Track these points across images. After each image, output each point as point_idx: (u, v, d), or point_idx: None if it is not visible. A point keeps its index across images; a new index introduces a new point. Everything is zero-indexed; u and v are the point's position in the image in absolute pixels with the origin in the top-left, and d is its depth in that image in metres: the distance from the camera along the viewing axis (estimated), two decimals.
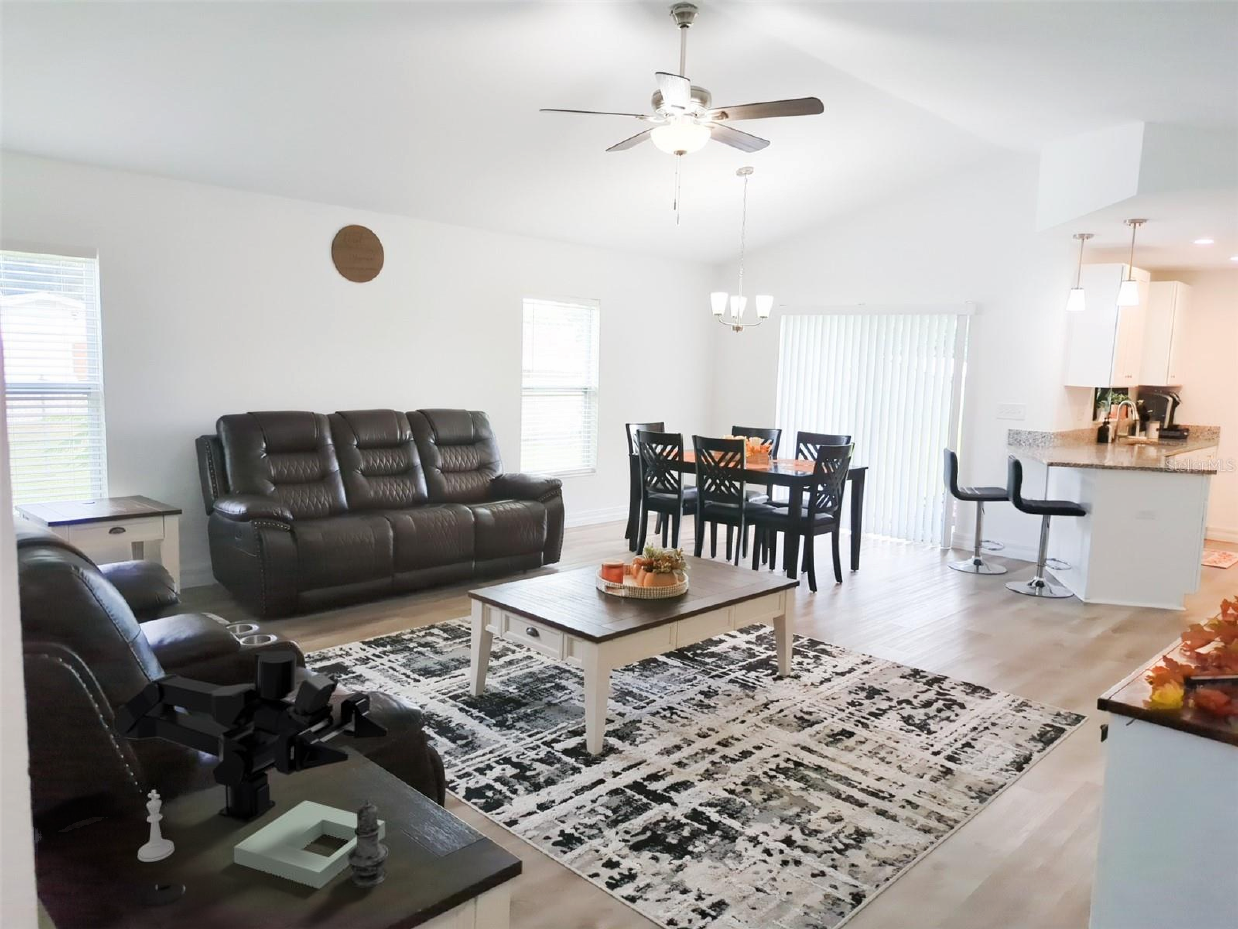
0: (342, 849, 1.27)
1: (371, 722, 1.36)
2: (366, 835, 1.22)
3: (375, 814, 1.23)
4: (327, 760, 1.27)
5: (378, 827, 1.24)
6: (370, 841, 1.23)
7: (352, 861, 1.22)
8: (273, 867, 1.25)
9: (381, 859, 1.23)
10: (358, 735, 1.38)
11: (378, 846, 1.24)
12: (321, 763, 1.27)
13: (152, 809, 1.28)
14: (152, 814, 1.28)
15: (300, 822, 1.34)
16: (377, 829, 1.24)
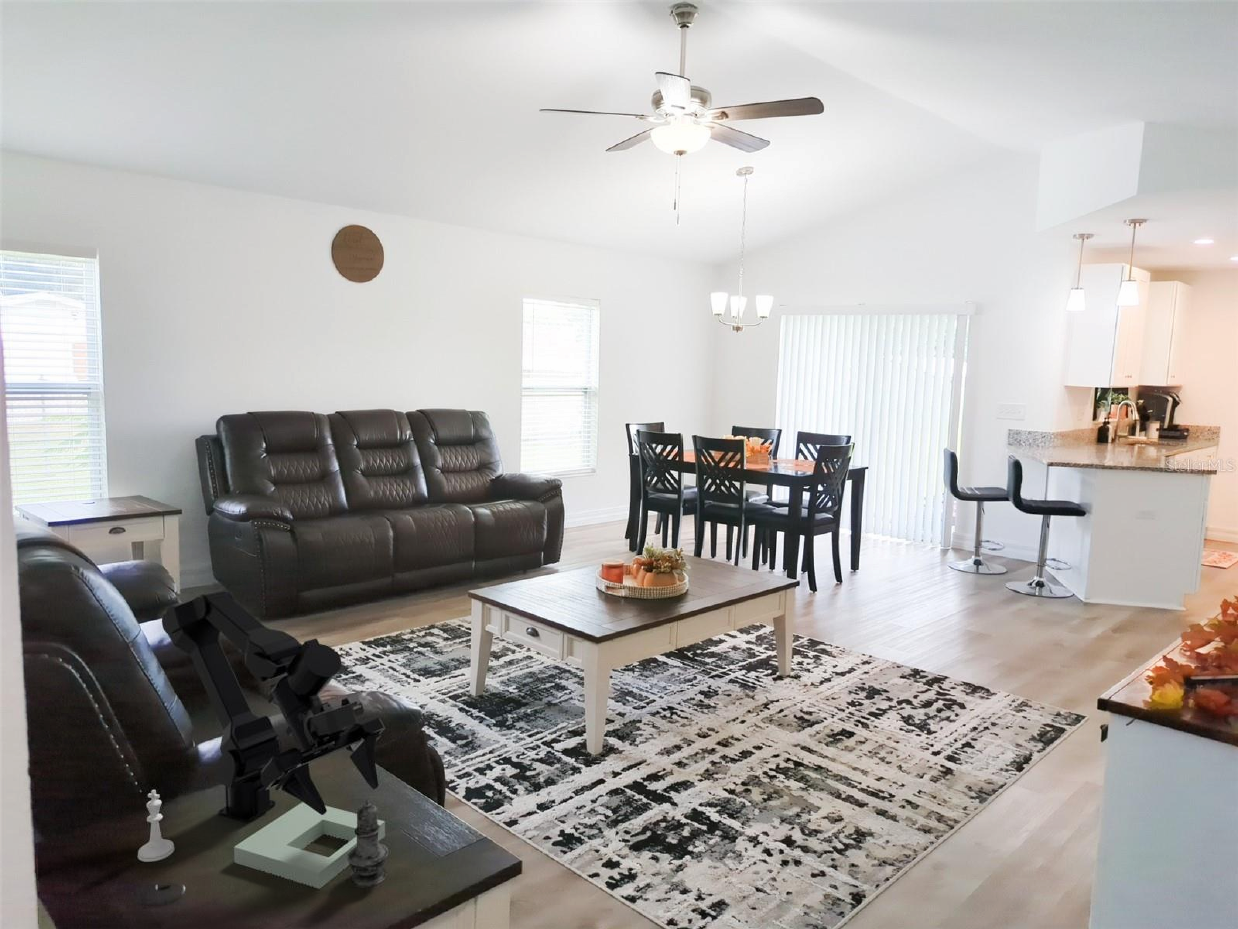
0: (342, 849, 1.27)
1: (369, 767, 1.30)
2: (366, 835, 1.22)
3: (375, 814, 1.23)
4: (306, 801, 1.22)
5: (378, 827, 1.24)
6: (370, 841, 1.23)
7: (352, 861, 1.22)
8: (273, 867, 1.25)
9: (381, 859, 1.23)
10: (354, 760, 1.33)
11: (378, 846, 1.24)
12: (301, 799, 1.23)
13: (152, 809, 1.28)
14: (152, 814, 1.28)
15: (300, 822, 1.34)
16: (377, 829, 1.24)
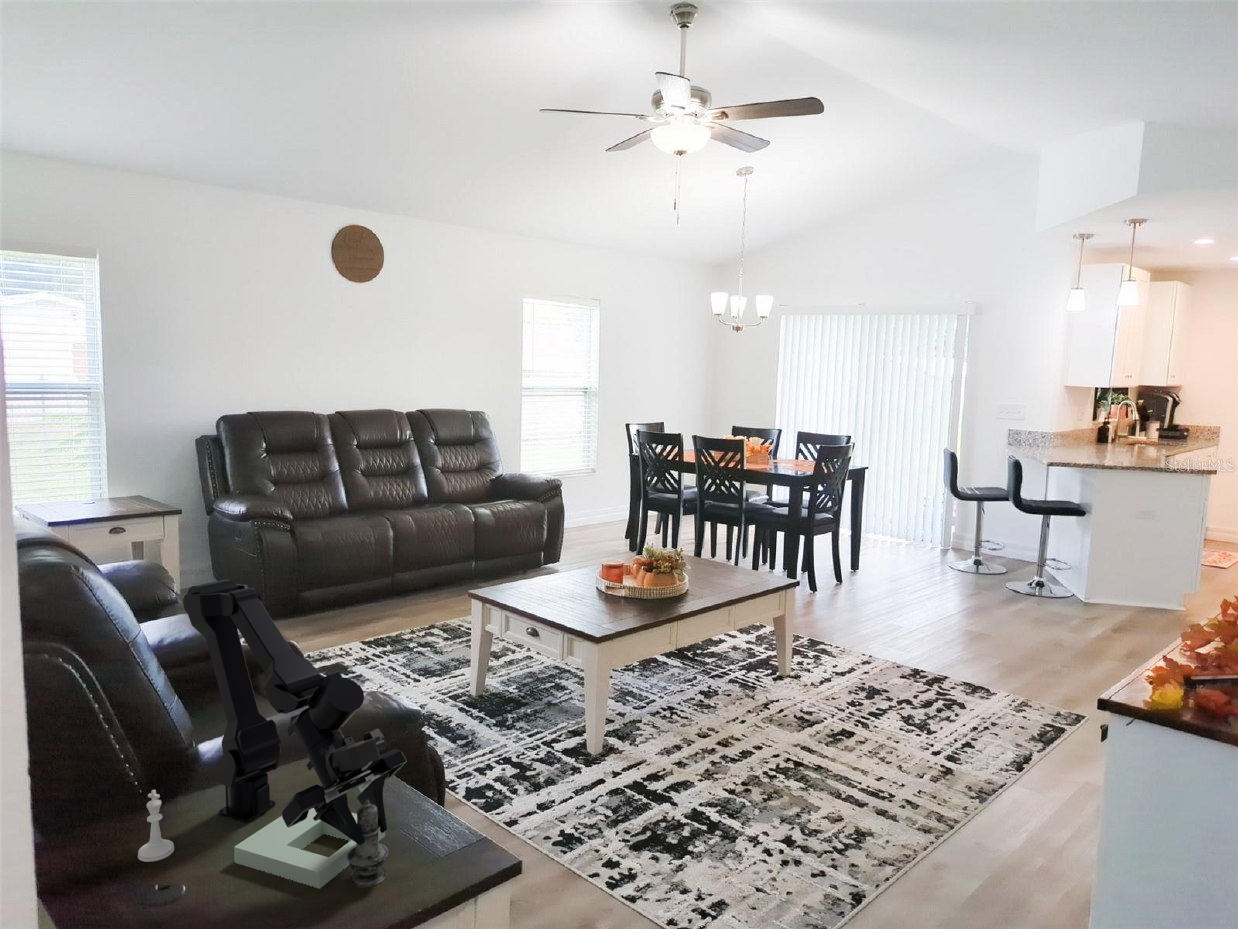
0: (342, 849, 1.27)
1: (377, 809, 1.26)
2: (366, 835, 1.22)
3: (375, 814, 1.23)
4: (344, 831, 1.22)
5: (378, 827, 1.24)
6: (370, 840, 1.23)
7: (352, 861, 1.22)
8: (273, 867, 1.25)
9: (381, 859, 1.23)
10: (361, 801, 1.28)
11: (378, 846, 1.24)
12: (339, 828, 1.23)
13: (152, 809, 1.28)
14: (152, 814, 1.28)
15: (300, 822, 1.34)
16: (377, 829, 1.24)
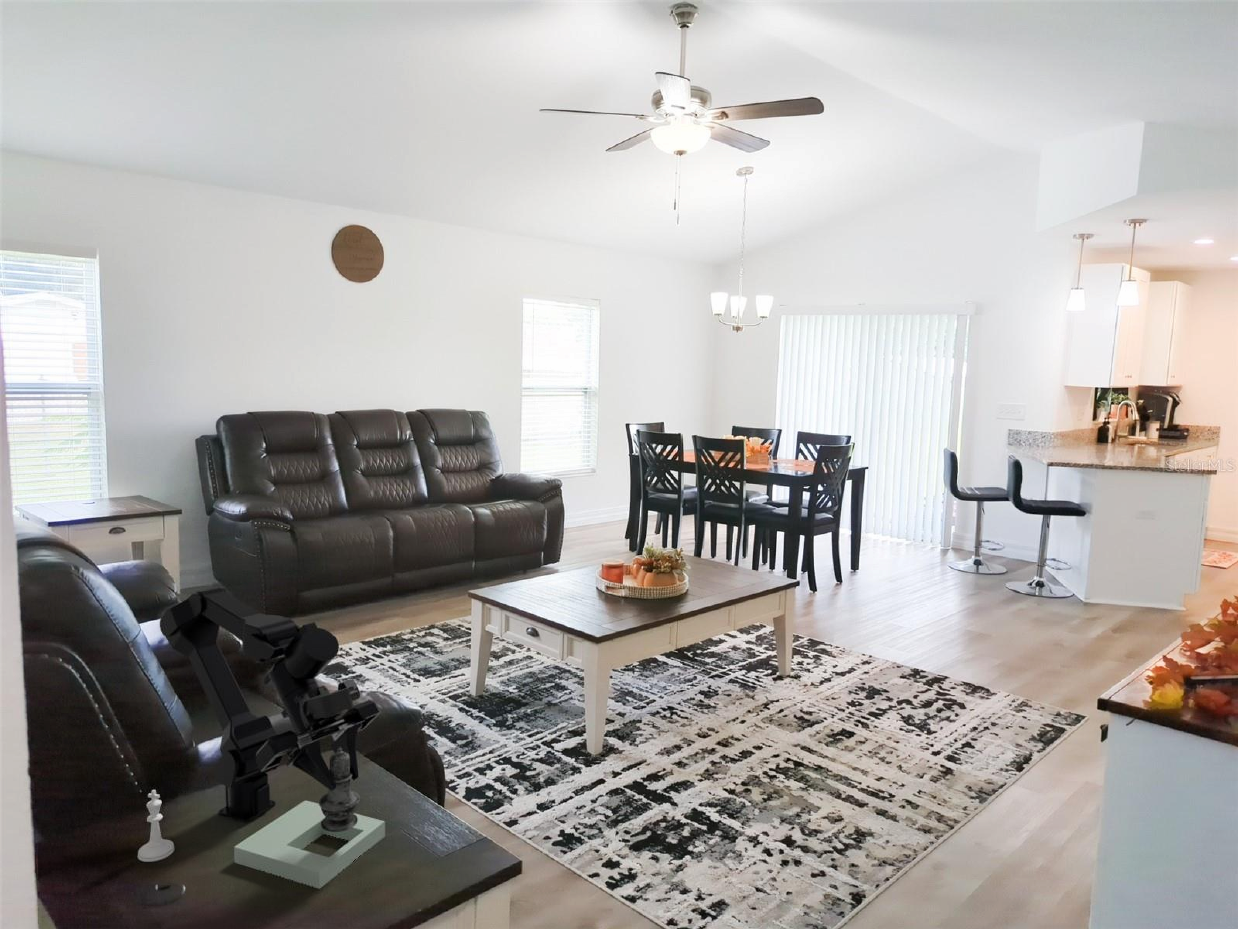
0: (342, 849, 1.27)
1: (350, 757, 1.28)
2: (338, 781, 1.25)
3: (347, 761, 1.26)
4: (316, 777, 1.25)
5: (350, 774, 1.27)
6: (342, 787, 1.26)
7: (323, 806, 1.25)
8: (273, 867, 1.25)
9: (352, 805, 1.26)
10: (334, 749, 1.31)
11: (350, 792, 1.27)
12: (311, 774, 1.25)
13: (152, 809, 1.28)
14: (152, 814, 1.28)
15: (300, 822, 1.34)
16: (349, 776, 1.27)
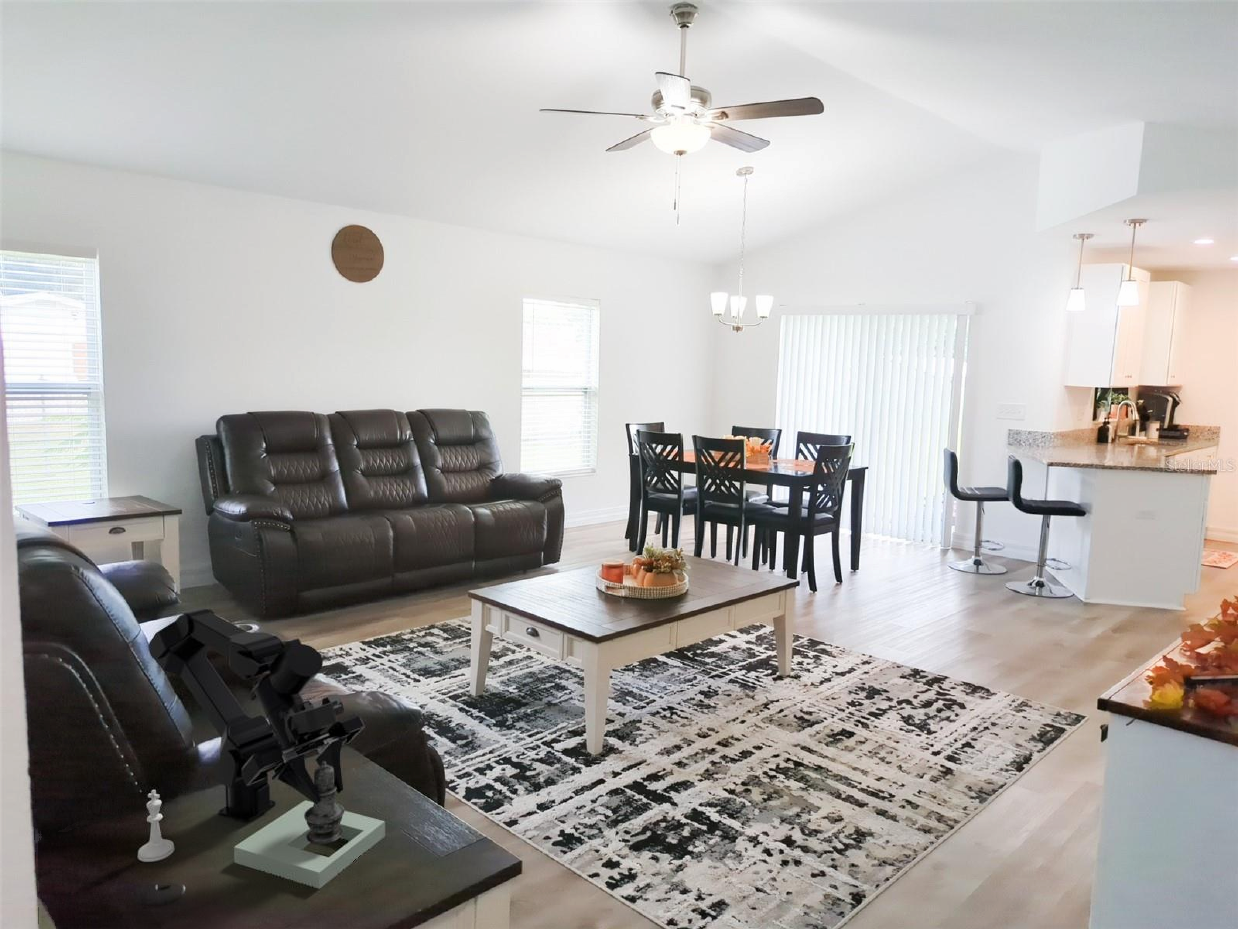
0: (342, 849, 1.27)
1: (334, 770, 1.31)
2: (322, 794, 1.28)
3: (331, 774, 1.29)
4: (301, 790, 1.28)
5: (334, 787, 1.30)
6: (326, 800, 1.28)
7: (308, 819, 1.28)
8: (273, 867, 1.25)
9: (337, 817, 1.29)
10: (320, 763, 1.34)
11: (334, 805, 1.30)
12: (296, 788, 1.28)
13: (152, 809, 1.28)
14: (152, 814, 1.28)
15: (300, 822, 1.34)
16: (333, 789, 1.29)
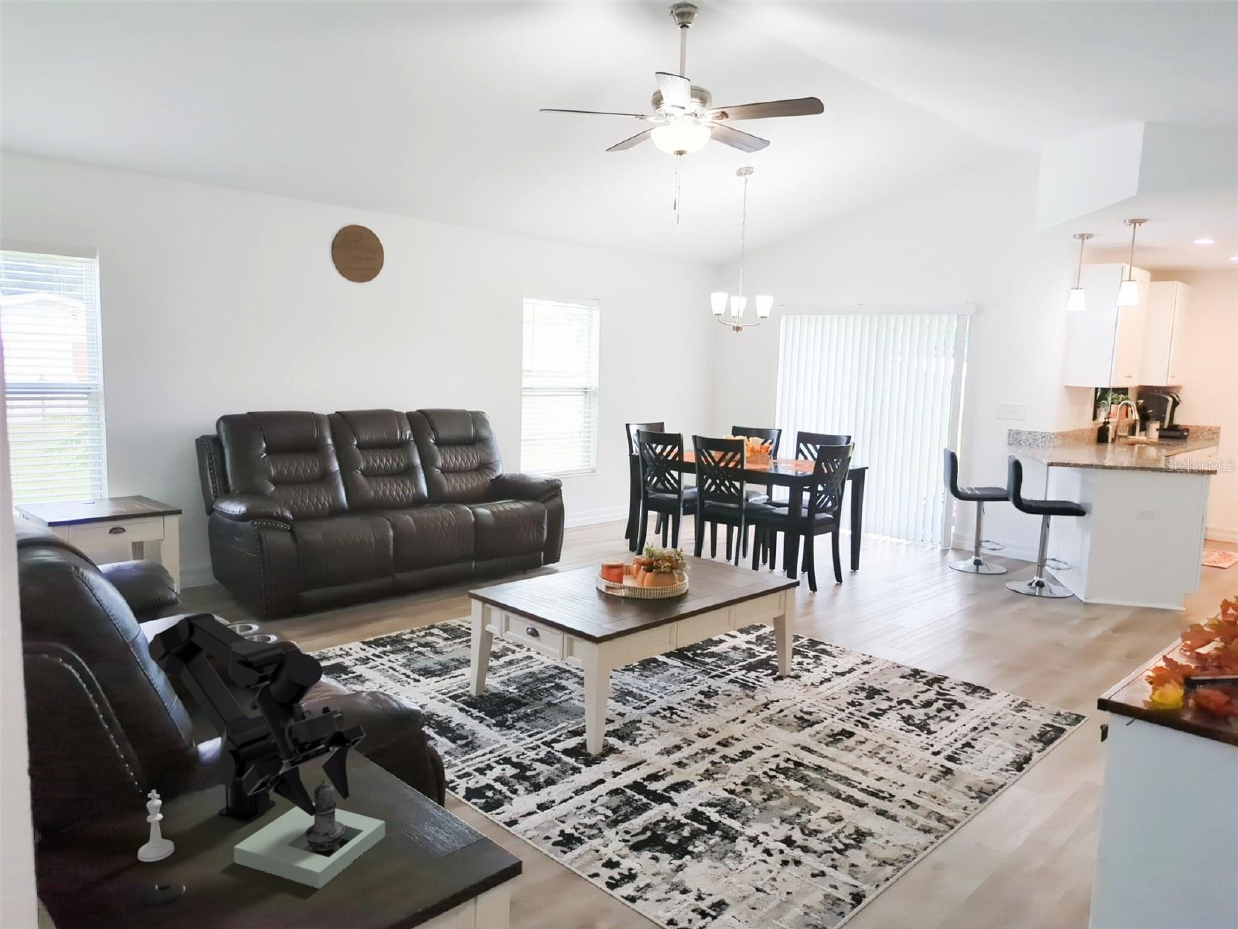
0: (342, 849, 1.27)
1: (340, 777, 1.32)
2: (323, 812, 1.28)
3: (332, 793, 1.29)
4: (296, 803, 1.27)
5: (335, 805, 1.30)
6: (327, 818, 1.29)
7: (309, 837, 1.28)
8: (273, 867, 1.25)
9: (337, 835, 1.29)
10: (326, 770, 1.34)
11: (335, 823, 1.30)
12: (291, 800, 1.27)
13: (152, 809, 1.28)
14: (152, 814, 1.28)
15: (300, 822, 1.34)
16: (334, 807, 1.30)
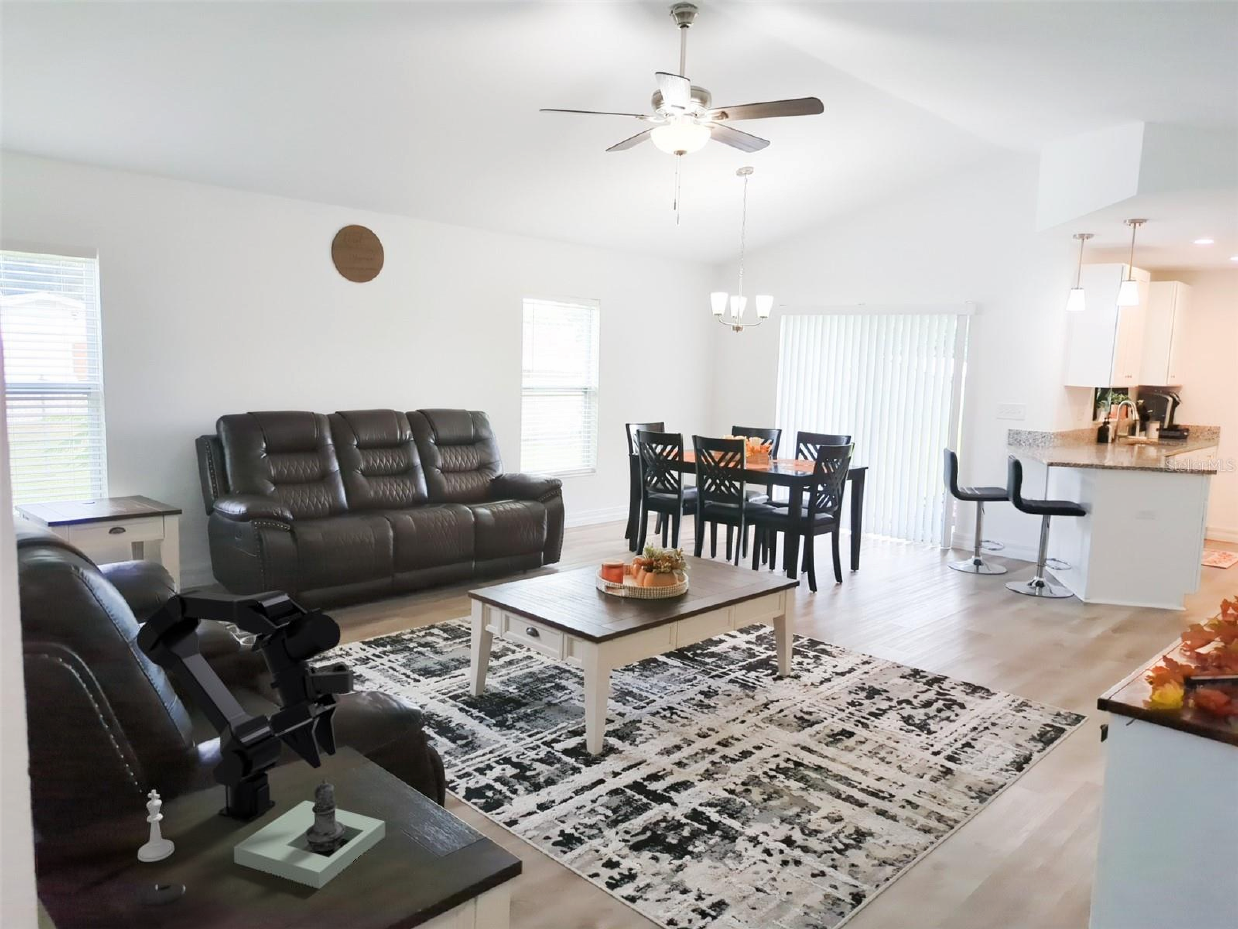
0: (342, 849, 1.27)
1: (331, 733, 1.39)
2: (323, 812, 1.28)
3: (332, 793, 1.29)
4: (303, 753, 1.28)
5: (335, 805, 1.30)
6: (327, 818, 1.29)
7: (309, 837, 1.28)
8: (273, 867, 1.25)
9: (337, 835, 1.29)
10: None
11: (335, 823, 1.30)
12: (297, 750, 1.28)
13: (152, 809, 1.28)
14: (152, 814, 1.28)
15: (300, 822, 1.34)
16: (334, 807, 1.30)
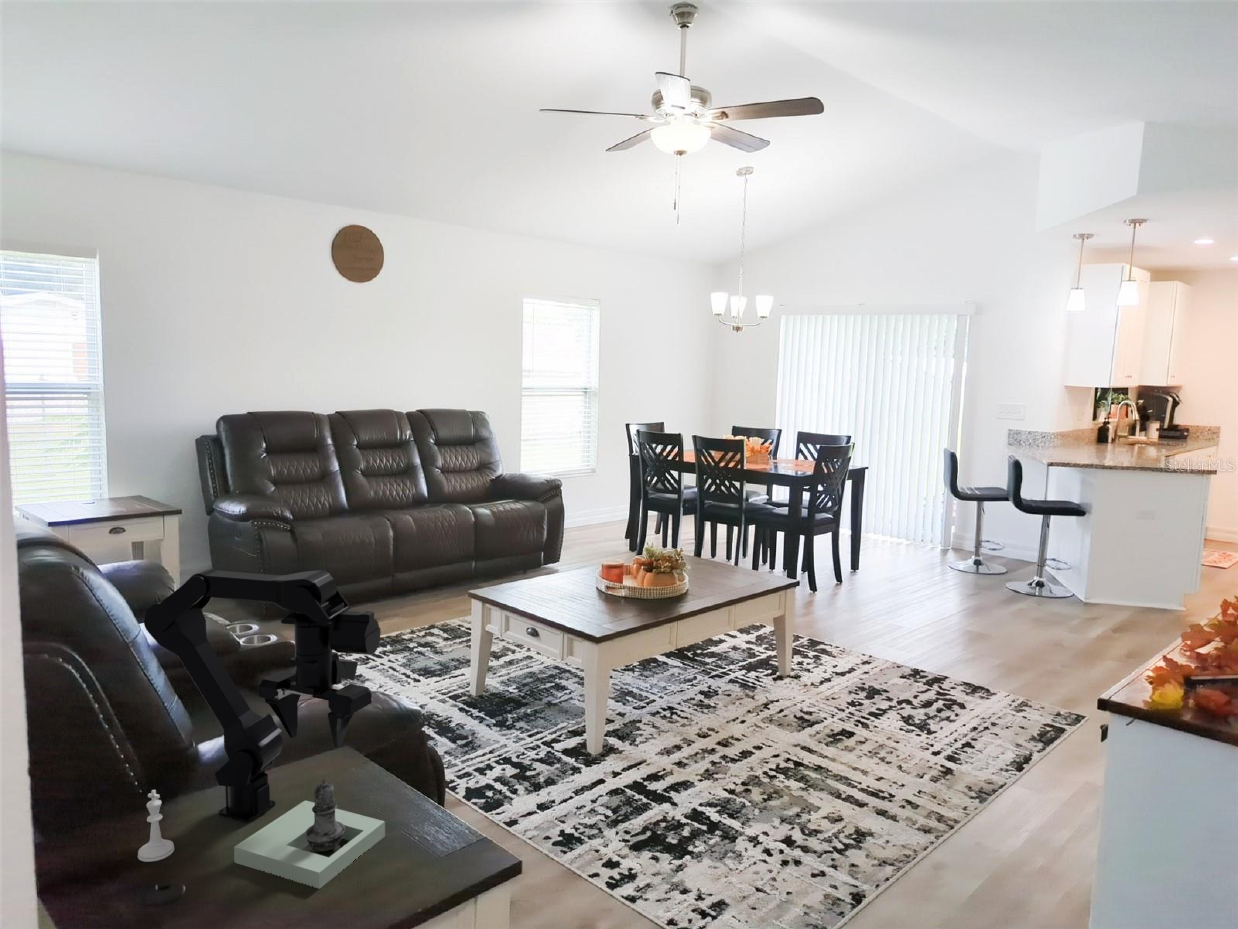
0: (342, 849, 1.27)
1: (297, 716, 1.41)
2: (323, 813, 1.28)
3: (332, 793, 1.29)
4: (339, 733, 1.36)
5: (335, 805, 1.30)
6: (327, 818, 1.29)
7: (309, 837, 1.28)
8: (273, 867, 1.25)
9: (337, 835, 1.29)
10: (281, 707, 1.38)
11: (335, 823, 1.30)
12: (338, 730, 1.35)
13: (152, 809, 1.28)
14: (152, 814, 1.28)
15: (300, 822, 1.34)
16: (334, 807, 1.30)
